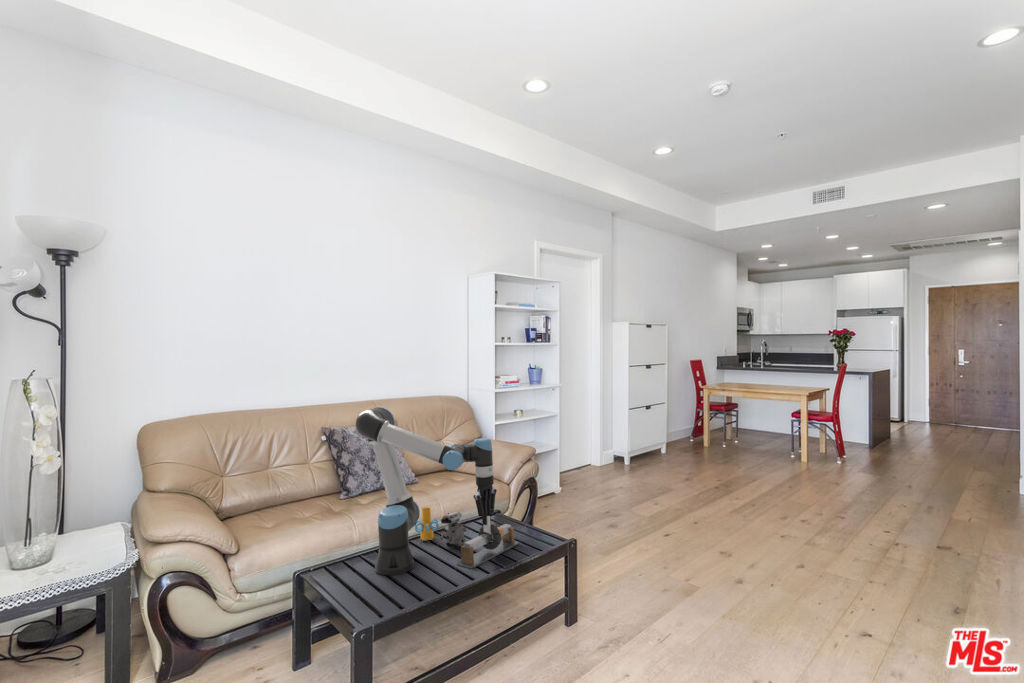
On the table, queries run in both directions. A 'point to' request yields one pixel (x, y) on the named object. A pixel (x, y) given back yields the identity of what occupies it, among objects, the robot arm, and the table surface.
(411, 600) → the table surface
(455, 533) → the figurine
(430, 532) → the yellow blue looped tower
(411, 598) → the table surface
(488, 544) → the dark gear wheel
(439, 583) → the table surface
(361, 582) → the table surface
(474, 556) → the grey rail stand
